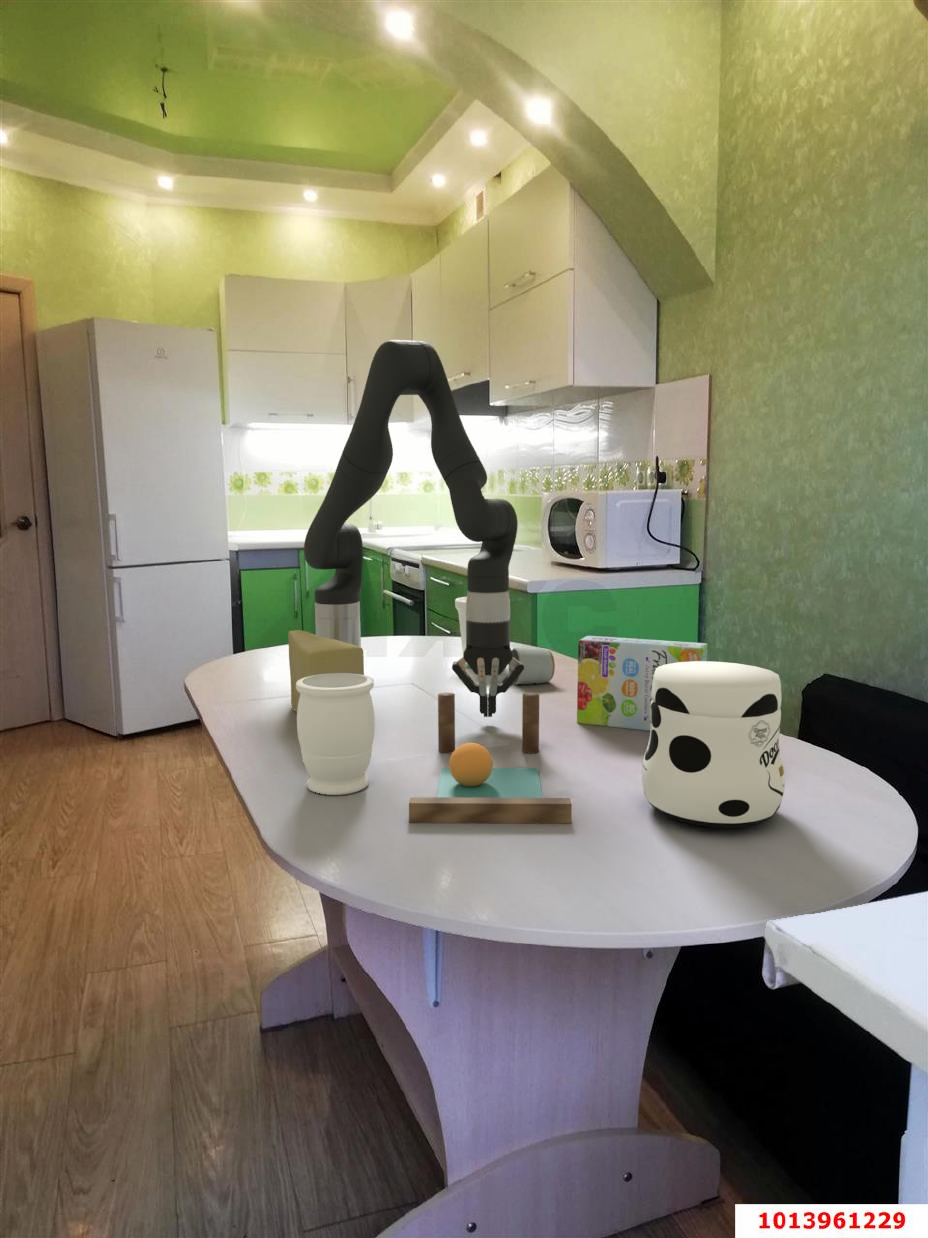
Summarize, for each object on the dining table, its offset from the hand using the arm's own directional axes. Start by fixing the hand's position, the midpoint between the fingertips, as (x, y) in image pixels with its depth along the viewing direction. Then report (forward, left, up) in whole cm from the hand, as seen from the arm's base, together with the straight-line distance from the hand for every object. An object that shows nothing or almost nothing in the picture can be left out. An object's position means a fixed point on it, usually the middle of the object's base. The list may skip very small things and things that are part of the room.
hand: (488, 715), depth 149 cm
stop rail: (0, -43, -2) cm, 43 cm away
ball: (-2, -31, +2) cm, 31 cm away
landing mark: (0, -31, -2) cm, 31 cm away
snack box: (+26, -1, -2) cm, 26 cm away
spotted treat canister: (+28, -40, -2) cm, 49 cm away
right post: (+7, -15, -2) cm, 16 cm away
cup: (-1, +49, -2) cm, 49 cm away
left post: (-7, -15, -2) cm, 16 cm away
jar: (-21, -31, -2) cm, 37 cm away
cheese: (-30, +3, -2) cm, 31 cm away
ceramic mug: (+9, +33, -2) cm, 34 cm away
